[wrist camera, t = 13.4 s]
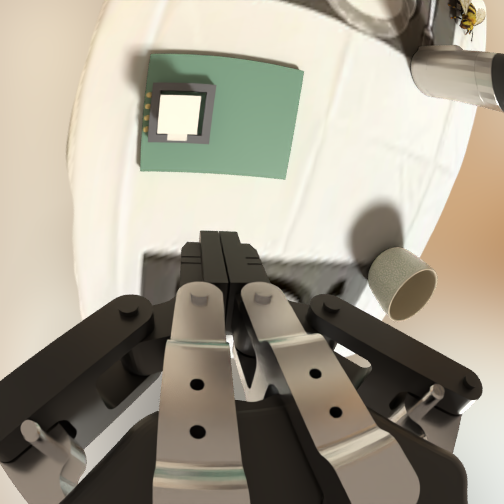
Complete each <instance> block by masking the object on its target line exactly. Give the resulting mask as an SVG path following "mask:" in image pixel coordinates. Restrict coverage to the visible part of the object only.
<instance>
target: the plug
mask: <svg viewBox="0 0 504 504" xmlns="http://www.w3.org/2000/svg"><path fill="white" fill-rule="evenodd" d="M200 102H201V96H187V95H161V97H160V106H159V117H158V129H157V134H168V136H167V140H172V141H187V134H195V135H197V128H198V119H199V110H200Z"/></svg>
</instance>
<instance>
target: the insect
mask: <svg viewBox="0 0 504 504" xmlns="http://www.w3.org/2000/svg"><path fill="white" fill-rule="evenodd" d="M455 1H456V2H457V3H458V4H460V5H461V7H462V8H461V10H459V9H457V8H456V7H453V6H451V5H449V4H448V5H449V6H451V7H453V8H454V9H455V10H457V11H460V12H461V16H462V19H461V18H460V17H458V16H455V17H451V19H453V18H459V19H461V24H460V27H461V28H463V29H467V33H468V32H469V30H470V32H469V34H470V33H471V31H472V29H473V26H476V25H478V24H480V23H481V22H483V20H484V19H485V15H486V14H485V11H484V9H482V8H481V9H480V8H479V9H478V11H477V16H476V9H475V7H474V6H473V4H472V3H471V0H460V2H459V1H458V0H455ZM463 12H464V13H463ZM462 13H463V15H462ZM467 33H466V34H467ZM466 34H465V35H466ZM472 37H473V32H472ZM471 42H472V39H471Z"/></svg>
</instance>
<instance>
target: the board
mask: <svg viewBox="0 0 504 504" xmlns="http://www.w3.org/2000/svg"><path fill="white" fill-rule="evenodd" d="M303 75H304V71H301V70H297V69H293V68H288V67H284V66H279V65H274V64H269V63H263V62H257V61H251V60H244V59H237V58H229V57H220V56H208V55H192V54H151V56H150V62H149V69H148V76H147V83H146V91H145V101H144V111H143V123H142V138H141V162H140V171H161V172H193V173H213V174H229V175H242V176H254V177H264V178H274V179H283V180H285V178H286V173H287V168H288V162H289V157H290V151H291V145H292V140H293V134H294V128H295V123H296V117H297V111H298V105H299V99H300V93H301V87H302V81H303ZM161 95H187V96H201V102H200V110H199V119H198V128H197V135H195V134H187V141H172V140H167V136H168V134H157V129H158V117H159V106H160V97H161Z"/></svg>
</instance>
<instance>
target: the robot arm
mask: <svg viewBox="0 0 504 504" xmlns="http://www.w3.org/2000/svg"><path fill="white" fill-rule="evenodd" d="M411 72H412V76H413V79H414V82H415V84H416V86H417V87H418V89H419V90H420V91H421V92H422V93H423V94H425V95H427V96H429V97H435V98H442V99H447V100H453V101H458V102H463V103H468V104H472V105H476V106H481V107H485V108H488V109H492V110H496V111H499V112H503V113H504V54H501V53H492V52H482V51H468V50H463V49H462V48H461V47H459V46H457V45H433V46H419V49H418V51H417V52H416V53H415V54H414V56H413V58H412V61H411ZM259 258H260V257H259V255H258V253H257V250H256V249H254V248H253V247H252V246H251V245H250V244H241V243H240V240H239V237H238V234H237V232H228V231H219V233H218V231H200V238H199V242H187V243H186V244H185V245H184V246H183V247H182V250H181V270H180V289H179V290H178V292H177V295H176V296H175V297H174V298H173V299H171V300H170V301H168V302H165V303H162V304H157V305H153V306H152V304H151V303H150V301H149V300H147V299H146V298H144V297H142V296H139V295H123V296H120V297H117V298H116V299H114V300H112V301H111V302H109V303H108V304H106V305H105V306H103V307H102V308H100V309H99V310H98V311H96V312H95V313H93V314H92V315H90V316H89V317H87V318H86V319H84V320H83V321H82V322H80V323H79V324H77V325H76V326H74V327H73V328H72V329H70V330H69V331H68V332H66V333H65V334H63V335H62V336H60V337H59V338H57V339H56V340H55V341H53V342H52V343H50V344H49V345H48V346H46V347H45V348H44V349H42V350H41V351H39V352H38V353H37V354H35V355H34V356H33V357H32V358H30V359H29V360H27V361H26V362H25V363H23V364H22V365H21V366H19V367H18V368H17V369H15V370H14V371H13V372H11V373H10V374H9V375H7V376H6V377H5V378H4V379H2V380H1V381H0V464H1V466H2V467H3V469H4V470H5V472H6V473H7V475H8V476H9V478H10V479H11V481H12V482H13V484H14V485H15V487H16V488H17V489H18V491H19V492H20V493H21V495H22V496H23V497H24V499H25V500H26V501H27V502H28V504H468V501H467V474H466V471H465V468H464V466H463V464H462V463H461V461H460V460H459V459H458V458H457V457H456V456H455V455H454V454H453V450H454V446H455V442H456V438H457V434H458V430H459V425H460V420H461V416H462V414H463V413H464V412H465V411H466V410H467V409H468V408H469V407H470V406H472V405H473V404H474V403H475V402H476V401H477V400H478V399H479V398H480V396H481V395H482V384H481V381H480V379H479V378H478V376H477V375H476V374H475V373H474V372H473V371H472V370H470V369H468V368H466V367H465V366H463V365H461V364H459V363H457V362H455V361H453V360H452V359H450V358H448V357H446V356H444V355H443V354H441V353H439V352H437V351H435V350H434V349H432V348H430V347H428V346H426V345H424V344H423V343H421V342H419V341H417V340H415V339H413V338H412V337H410V336H408V335H406V334H404V333H402V332H401V331H399V330H397V329H395V328H393V327H391V326H390V325H388V324H386V323H384V322H382V321H380V320H379V319H377V318H375V317H373V316H371V315H370V314H368V313H366V312H364V311H362V310H360V309H359V308H357V307H355V306H353V305H351V304H349V303H348V302H346V301H344V300H342V299H340V298H338V297H336V296H333V295H328V294H320V295H317V296H315V297H313V298H312V300H311V302H310V305H307V304H302V303H296V302H292V301H289V300H287V298H286V297H285V295H284V293H283V292H282V291H281V290H280V289H279V288H278V287H276V286H274V285H272V284H270V281H269V279H268V277H267V274H266V272H265V269H264V267H263V265H262V262H261V260H260V259H259ZM226 335H233V340H234V343H233V356H234V359H235V362H236V366H237V369H238V372H239V375H240V379H241V382H242V385H243V388H244V391H245V395H246V401H240V400H235V398H234V388H233V378H232V367H231V356H230V347H229V343H228V342H226ZM337 343H339V344H340V345H342V346H344V347H346V348H347V349H349V350H351V351H352V352H354V353H356V354H358V355H359V356H361V357H363V358H365V359H366V360H368V361H369V362H370V364H371V366H370V367H368V368H362V367H360V366H358V365H357V364H355V363H353V362H351V361H350V360H348V359H346V358H345V357H343V356H341V355H340V354H338V353H336V352H335V351H334V349H335V347H336V345H337ZM162 371H163V374H162V384H161V395H160V405H159V411H156V412H154V413H152V414H150V415H148V416H146V417H145V418H143V419H141V420H140V421H139V422H137V423H136V424H135V425H134V426H133V427H132V428H131V429H130V430H129V431H128V432H127V433H126V434H125V435H124V436H123V437H122V438H121V440H120V441H119V442H118V443H117V444H116V445H115V446H114V447H113V448H112V449H111V450H110V451H109V452H108V453H107V454H106V456H105V457H104V458H103V459H102V460H101V461H100V462H99V463H98V464H97V465H96V466H95V467H94V468H93V469H92V470H91V471H90V472H89V473H88V475H86V477H85V478H84V479H83V480H82V481H81V482H80V483H79V484H78V481H79V478H80V477H81V475H82V474H83V473H84V471H85V468H86V464H87V460H86V455H85V452H84V449H85V447H87V446H88V445H89V444H90V443H91V442H92V441H93V440H94V439H95V438H96V437H97V436H98V435H100V433H102V432H103V431H104V430H105V429H106V428H107V427H108V426H109V425H110V424H111V423H112V422H113V421H114V420H115V419H116V418H117V417H118V416H119V415H120V414H121V413H122V412H124V411H125V410H126V409H127V408H128V407H129V406H130V405H131V404H132V403H133V402H134V401H135V400H136V399H137V398H138V397H139V396H140V395H141V394H142V393H143V392H144V391H145V390H146V389H147V388H148V387H149V386H150V385H151V384H152V383H153V382H154V381H155V380H156V379H157V378H158V377H159V376H160V374H161V372H162Z"/></svg>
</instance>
